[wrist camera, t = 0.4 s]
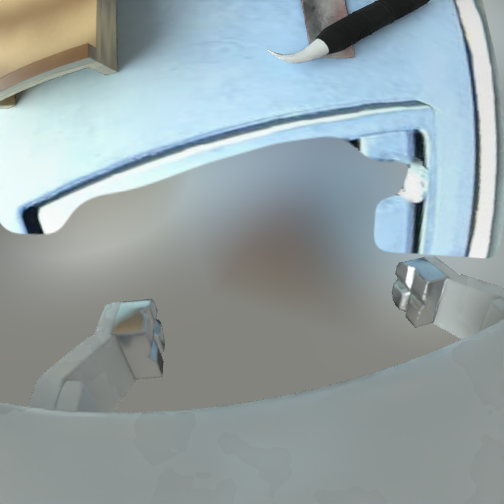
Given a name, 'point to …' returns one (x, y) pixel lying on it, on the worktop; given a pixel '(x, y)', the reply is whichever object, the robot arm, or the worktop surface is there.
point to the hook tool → (353, 28)
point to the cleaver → (324, 21)
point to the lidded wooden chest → (53, 41)
